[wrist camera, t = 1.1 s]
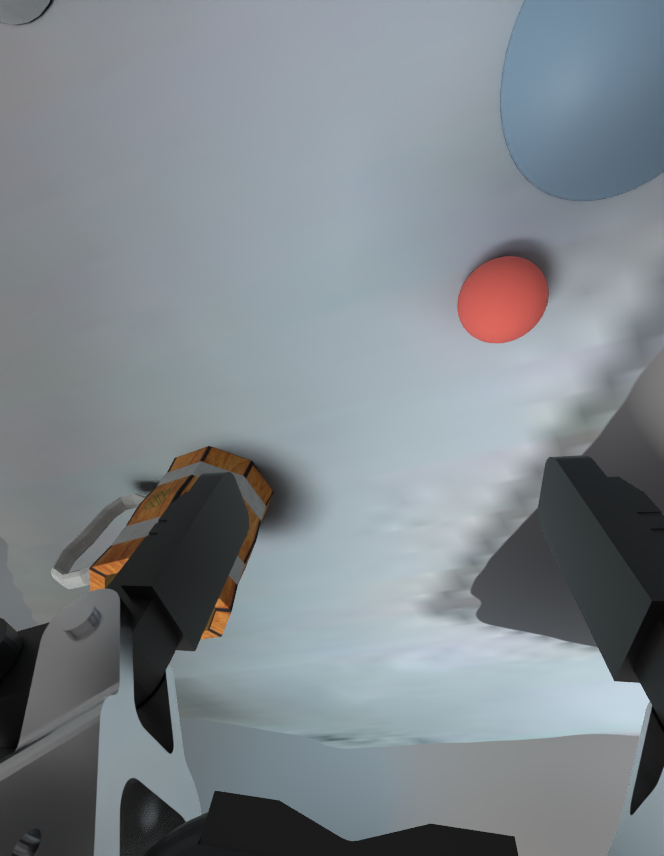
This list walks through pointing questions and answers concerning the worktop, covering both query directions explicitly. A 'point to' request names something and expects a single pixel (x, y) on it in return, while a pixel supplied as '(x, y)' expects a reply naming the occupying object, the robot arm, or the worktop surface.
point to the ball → (503, 299)
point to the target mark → (586, 95)
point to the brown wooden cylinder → (147, 515)
